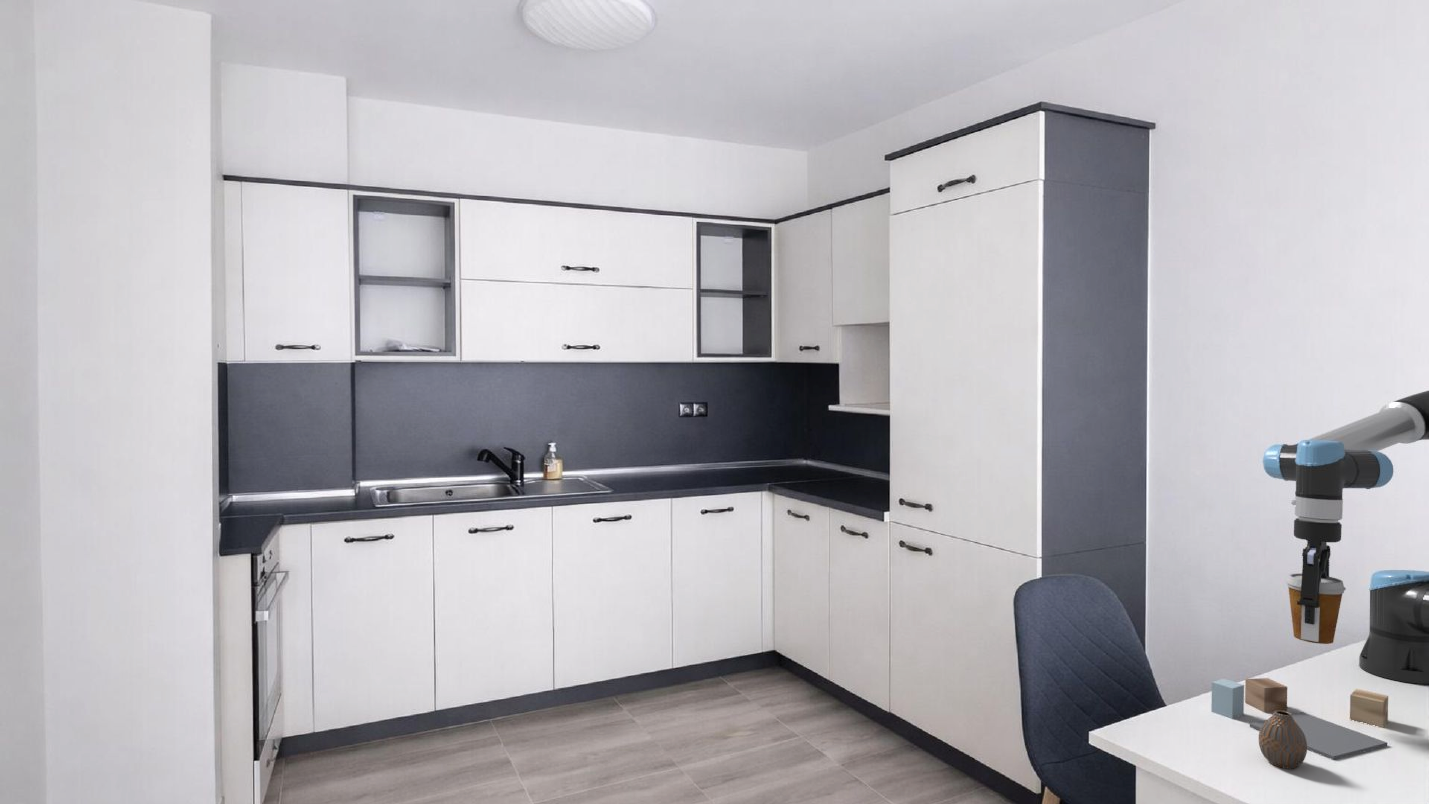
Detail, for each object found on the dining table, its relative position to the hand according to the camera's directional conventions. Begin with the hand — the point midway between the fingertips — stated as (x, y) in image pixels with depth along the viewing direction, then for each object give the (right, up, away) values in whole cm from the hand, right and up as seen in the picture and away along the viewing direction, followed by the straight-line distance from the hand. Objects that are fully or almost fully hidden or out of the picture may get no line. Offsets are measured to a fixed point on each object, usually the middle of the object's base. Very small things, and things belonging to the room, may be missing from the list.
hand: (1313, 635), depth 163 cm
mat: (-5, -16, -8) cm, 19 cm away
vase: (-19, -17, -19) cm, 32 cm away
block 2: (-6, -16, +6) cm, 18 cm away
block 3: (+10, -16, -1) cm, 19 cm away
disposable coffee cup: (0, -1, 0) cm, 1 cm away
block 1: (-14, -13, +1) cm, 20 cm away
